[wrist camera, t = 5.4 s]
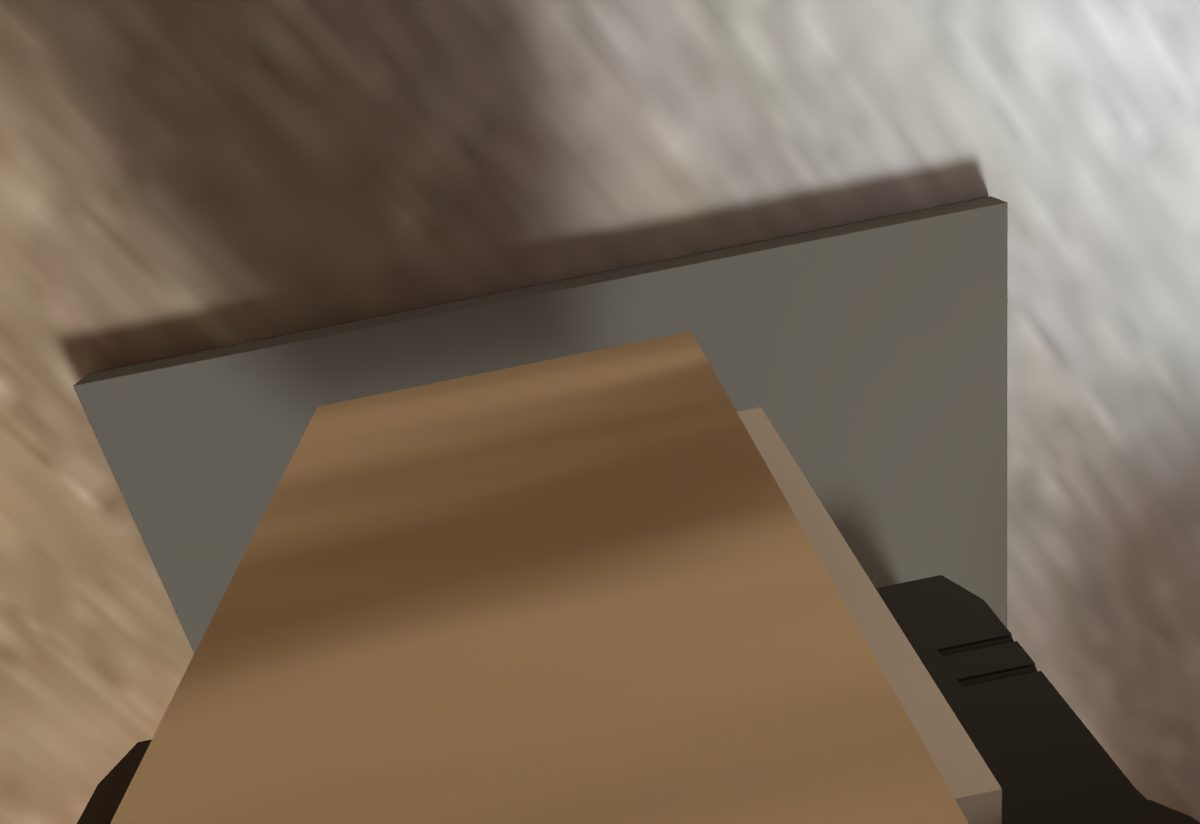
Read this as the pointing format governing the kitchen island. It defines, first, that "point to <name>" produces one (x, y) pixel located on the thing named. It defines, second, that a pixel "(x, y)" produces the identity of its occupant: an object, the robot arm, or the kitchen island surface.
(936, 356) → the mat
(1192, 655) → the kitchen island surface
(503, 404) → the block
